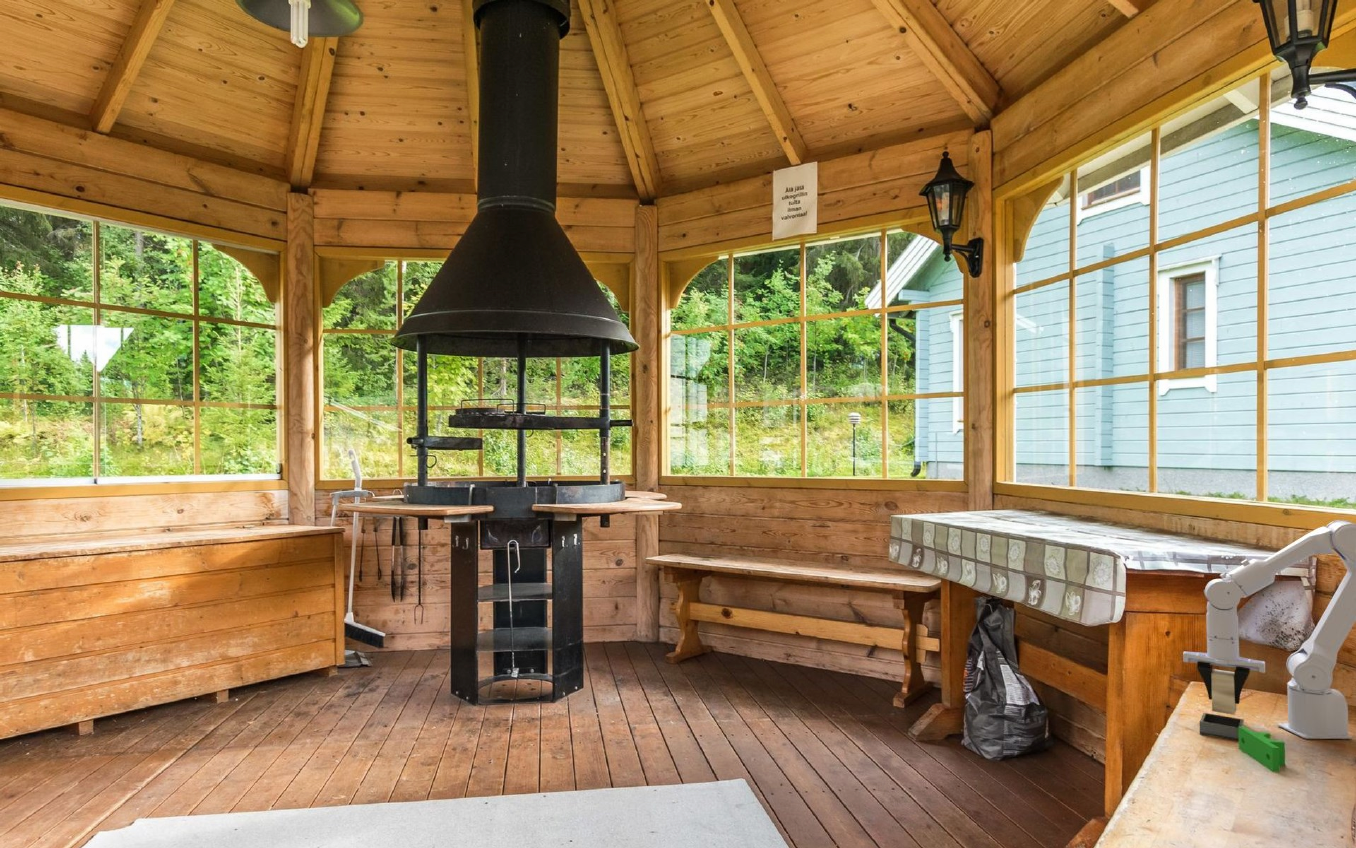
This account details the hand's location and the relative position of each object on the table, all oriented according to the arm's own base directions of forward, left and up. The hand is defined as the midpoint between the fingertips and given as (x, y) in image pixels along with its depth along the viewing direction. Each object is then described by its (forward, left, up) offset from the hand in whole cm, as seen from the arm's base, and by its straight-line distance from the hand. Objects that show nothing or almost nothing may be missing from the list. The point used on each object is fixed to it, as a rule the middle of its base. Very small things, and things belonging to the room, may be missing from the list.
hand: (1224, 700), depth 176 cm
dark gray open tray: (+5, +7, -4) cm, 10 cm away
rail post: (0, 0, -2) cm, 2 cm away
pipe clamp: (+6, +21, -5) cm, 23 cm away
